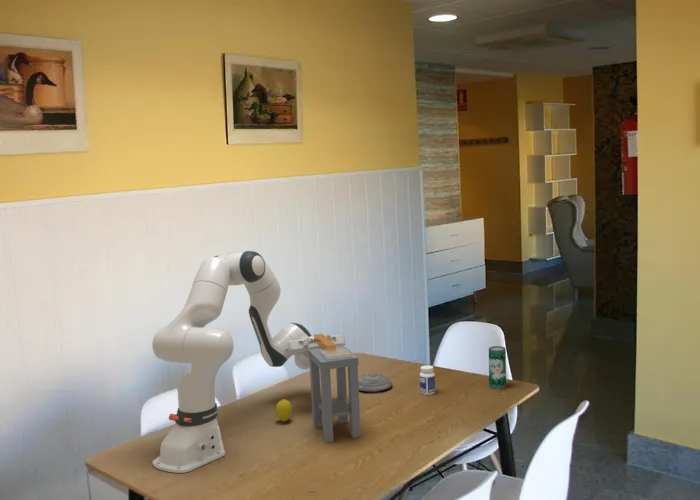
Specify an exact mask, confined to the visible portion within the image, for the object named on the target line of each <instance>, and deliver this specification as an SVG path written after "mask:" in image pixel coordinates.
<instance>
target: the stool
mask: <svg viewBox="0 0 700 500" xmlns="http://www.w3.org/2000/svg"><path fill="white" fill-rule="evenodd" d="M336 348H345V349H346V350H347V351H348V352H350V353H351V358H344V359H337V360H329V361H326V360H325V359H324V358H323V357H322V356H321V355H320V351H321V350H323V349H322V348H317V349H310V350H308V357H309V358H310V369H309V374H310V377H309V378H310V392H311V393H310V395H311V396H310V397H311V414H312V415H311V416H312V426H313V427H314V429H318V428H322V430H323V431H322V432H323V433H322V434H323V441H324V442H325V443H326V444H327V443H334V429H333V428H334V427H333V426H334V424H333V423H334V421H333V418H337V417H338V423H340V424H347V423H349V429H350V431H349V432H350V437H351V438H352V439H356V438H361V416H360V415H361V414H360V390H359V387H358V378H359V367H358V366H359V362H360V361H359V356H357V355H356V354H354V353H353V352H352V351H351V350H350V349H349V348H347V347H346V346H345V345H344V346H343V345H341V346H336ZM346 368H347V370H346ZM331 370H336V371H335V372H336V373H335V374H336V390H337V391H336V392H337V393H336V394H337V396H336V398H332V381H331ZM346 371H347V372H346ZM346 373H347V374H346ZM347 383H348V395H347ZM347 397H348V398H347ZM348 401H349V402H348ZM348 417H349V418H348Z"/></svg>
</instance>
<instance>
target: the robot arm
mask: <svg viewBox="0 0 700 500" xmlns="http://www.w3.org/2000/svg"><path fill="white" fill-rule="evenodd" d="M240 285H244V287H245V289H246V291H247V292H248V296H249V307H248V315H249V318H250V323H251V325H252V326H253V330H254V333H255V336H256V339H257V341H258V344H259V349H260V353H261V356H262V358H263V360H264V362H265V363H266V364H268V366H269V367H273V368H274V367H275V368H278V367H283V366H284V365H285V363H286V362H287V361H288V360H289V359H290V358H291V357H292V356H294V364H295V366H296V367H297V368H299V369H301V370H310V358H309V357H308V350H310V349H317V348H321V347H320V346H319V345H317V344H316V343H315V342H314V335H313V336H312V334H311V333H310V331H309V330H308V329H307V328H306V327H305V326H304V325H303V324H300V323H297V322H290V323H288V324H287V325H286V326H284V327H283V328H282V329H281V330H280V331H279V332H278V333H277V334H275V335H273V337H272V334H271V332H270V329H269V326H268V320H269V317H270V315H271V312H272V311H273V309H274V308H275V306H276V305H277V302H279V298H280V296H281V285H280V283H279V281H278V279H277V277H276V275H275V273H274V272H273V270H272V268H271V267H270V266H269V264H268V262H266V261H265V260H264V258H263V256H262V255H261V254H260V253H258V252H257V251H254V250H253V251H252V250H246V251H237V252H229V253H223V254H221V255H220V254H219V255H215V256H209V257H207V258H205V259H204V260H203V261H202V263H201V265H200V266H199V268H198V270H197V272H196V274H195V277H194V279H193V282H192V284H191V288H190V292H189V294H188V297H187V299H186V302H185V304H184V307H183V308H182V309H181V311H180V313H179V314H177V316H176V317H175V318H174V319H173V320H171V322H170V323H168V324H167V325H166V326H164V327H162V328H160V329H159V330H158V331H156V333H155V334H154V337H153V339H152V345H151V346H152V351H153V354H154V355H155V357H156V358H157V359H158V360H159V359H160V360H162V361H166V362H170V363H173V364H174V363H175V364H176V363H177V364H189V365H191V370H190V373H187V374H186V375H185V376H183V377H182V378H181V379H180V380H179V382H178V384H177V388H176V389H177V404H178V407H177V410H176V413H175V414H174V413H170V414H169V416H168V420H169V421H173V422H174V425H172V427H171V429H170V430H169V432H168V433H167V435H166V436H165V437H164V439H162V442H161V443H160V449H159V452H160V453H159V456H157V457H155V458H154V459H153V460H152V466H153V467H154V468H156V469H157V470H160V471H164V472H168V473H176V474H180V473H181V474H183V473H184V474H185V473H188V472H191V471H193V470H196V469H197V468H199V467H202V466H205V465H206V464H209V463H211V462H213V461H216V460H217V459H221V457H224V456H226V450H225V445H224V443H223V440H222V435H221V429H220V426H219V421H218V418H217V417H218V416H219V412H218V411H219V409H218V404H217V403H216V389H215V388H216V386H215V385H216V384H215V383H216V377H217V374H218V372H219V370H220V369H221V367H222V366H223V365H224V364H225V363H226V362H227V361H229V359H230V358H231V357H232V354H233V353H234V340H233V337H232V335H231V334H230V333H229V332H228V331H226V330H224V329H223V330H222V329H220V328H216V327H205V326H207V325H209V324H210V323H212V322H214V321H215V320H217V319H218V318H219V317H220V316H221V314H222V311H223V307H224V303H225V300H226V297H227V294H228V290H229V289H228V288H229V287H230V286H240ZM325 336H326V337H327V338H328V339H329V340H330V341H332V342H333V343H334V344H335V345H336V346H341V345H343V346H344V347H345V345H346V340H345V336H344V334H335V335H332V334H328V335H325Z"/></svg>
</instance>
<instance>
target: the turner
mask: <svg viewBox="0 0 700 500" xmlns="http://www.w3.org/2000/svg"><path fill="white" fill-rule="evenodd" d="M313 336H314V342H315V343H316V344H317V345H319V346H320V347H321V348H322V349H323V350H321V351H320V355H321V356H322V357H323V358H324V359H325V360H326V361H329V360H337V359H344V358H351V353H350V352H348V351H347V350H346V349H345V348H336V345H335V344H334V343H333V342H332V341H330V340H329V339H328V338H327V337H326V336H327V335H324V333H318V334H313Z"/></svg>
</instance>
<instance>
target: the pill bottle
mask: <svg viewBox="0 0 700 500" xmlns="http://www.w3.org/2000/svg"><path fill="white" fill-rule="evenodd" d="M419 391H420V393H421V394H422V395H425V396H430V395H434V394H435V393H436V374H435V372H434V366H432V365H429V364H427V365H422V366H420V372H419Z"/></svg>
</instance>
